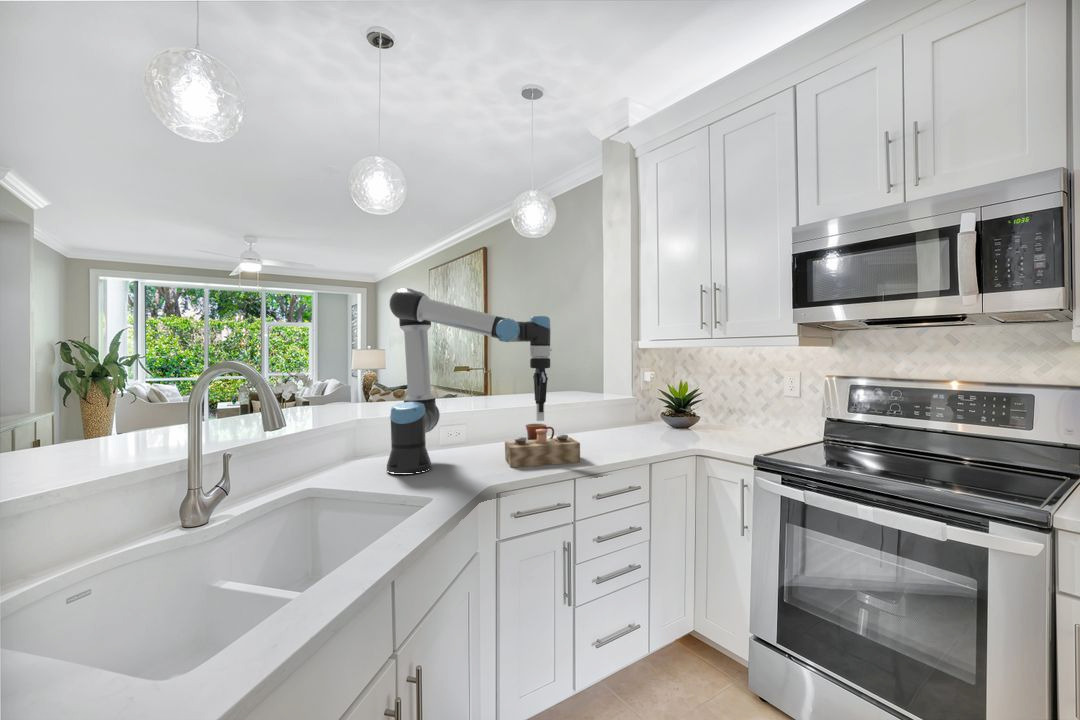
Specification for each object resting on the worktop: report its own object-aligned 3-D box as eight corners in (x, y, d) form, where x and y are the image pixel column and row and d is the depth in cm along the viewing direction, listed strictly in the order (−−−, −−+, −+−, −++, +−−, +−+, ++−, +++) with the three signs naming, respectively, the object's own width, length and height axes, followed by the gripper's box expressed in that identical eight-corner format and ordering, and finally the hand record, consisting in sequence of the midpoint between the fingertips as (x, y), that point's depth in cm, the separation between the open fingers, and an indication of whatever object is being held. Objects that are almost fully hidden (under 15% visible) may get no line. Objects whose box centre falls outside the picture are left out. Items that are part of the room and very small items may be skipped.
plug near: (516, 463, 171) (515, 439, 171) (514, 460, 175) (513, 437, 175) (528, 462, 172) (527, 438, 172) (525, 460, 176) (525, 436, 176)
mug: (524, 451, 192) (524, 426, 192) (527, 447, 200) (526, 423, 200) (553, 451, 191) (553, 426, 190) (555, 447, 199) (554, 423, 199)
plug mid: (537, 455, 172) (537, 431, 172) (534, 452, 177) (534, 429, 177) (549, 454, 173) (548, 430, 173) (546, 451, 178) (545, 428, 178)
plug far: (558, 460, 174) (558, 436, 174) (555, 457, 179) (555, 434, 178) (569, 459, 175) (569, 436, 175) (566, 457, 180) (566, 434, 179)
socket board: (510, 467, 166) (510, 447, 166) (505, 459, 178) (504, 441, 178) (580, 462, 172) (579, 443, 172) (570, 455, 184) (570, 437, 184)
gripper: (554, 357, 169) (554, 423, 169) (545, 357, 182) (545, 417, 182) (534, 357, 167) (534, 423, 168) (526, 357, 180) (526, 418, 180)
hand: (540, 420), depth 175 cm, fingers closed
